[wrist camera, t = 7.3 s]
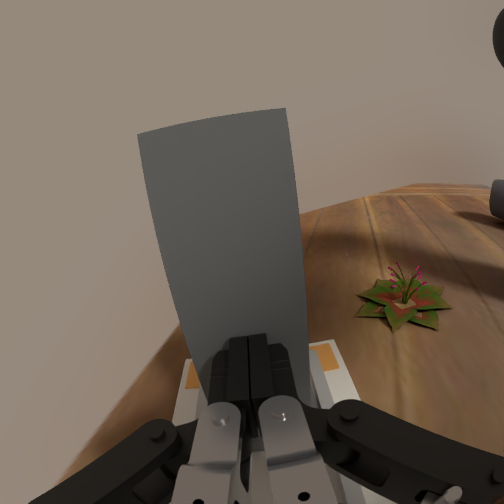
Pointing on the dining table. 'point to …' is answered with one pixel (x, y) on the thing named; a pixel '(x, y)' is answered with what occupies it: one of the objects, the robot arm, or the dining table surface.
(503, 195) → the bluetooth speaker
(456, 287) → the dining table surface
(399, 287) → the succulent plant
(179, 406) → the switch board
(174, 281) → the switch lever
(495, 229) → the dining table surface
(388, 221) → the dining table surface
